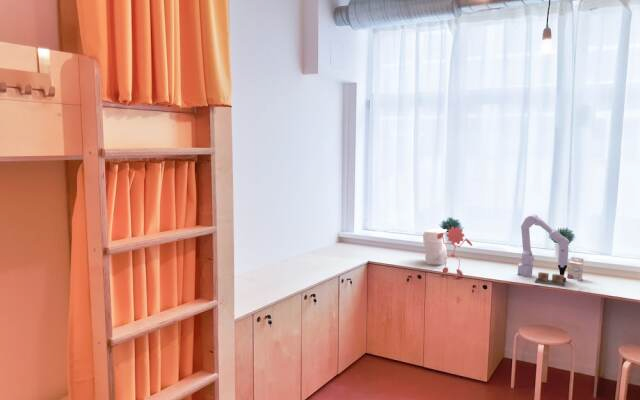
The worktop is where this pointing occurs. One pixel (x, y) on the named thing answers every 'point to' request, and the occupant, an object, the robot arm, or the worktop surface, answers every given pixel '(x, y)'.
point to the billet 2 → (557, 278)
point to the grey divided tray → (549, 282)
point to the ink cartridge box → (575, 268)
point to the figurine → (455, 237)
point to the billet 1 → (543, 276)
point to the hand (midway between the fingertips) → (561, 275)
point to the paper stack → (434, 247)
